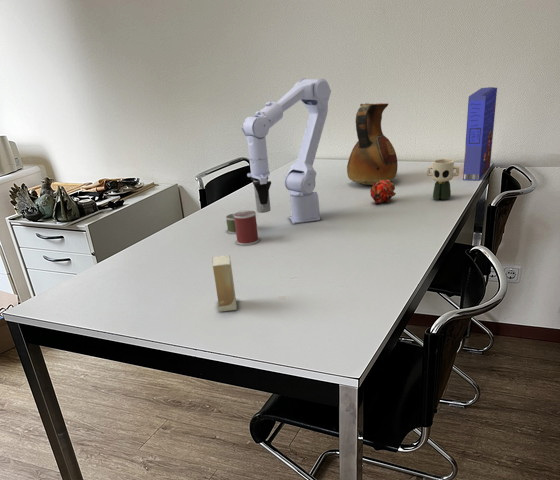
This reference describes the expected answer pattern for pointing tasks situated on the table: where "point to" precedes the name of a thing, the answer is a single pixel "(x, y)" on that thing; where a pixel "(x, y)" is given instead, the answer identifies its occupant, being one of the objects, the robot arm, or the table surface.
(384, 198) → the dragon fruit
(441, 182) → the character mug
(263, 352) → the table surface
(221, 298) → the cosmetic box
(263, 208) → the planter
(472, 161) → the cereal box
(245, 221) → the tall can
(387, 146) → the ceramic pitcher
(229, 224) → the short can
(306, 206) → the robot arm
